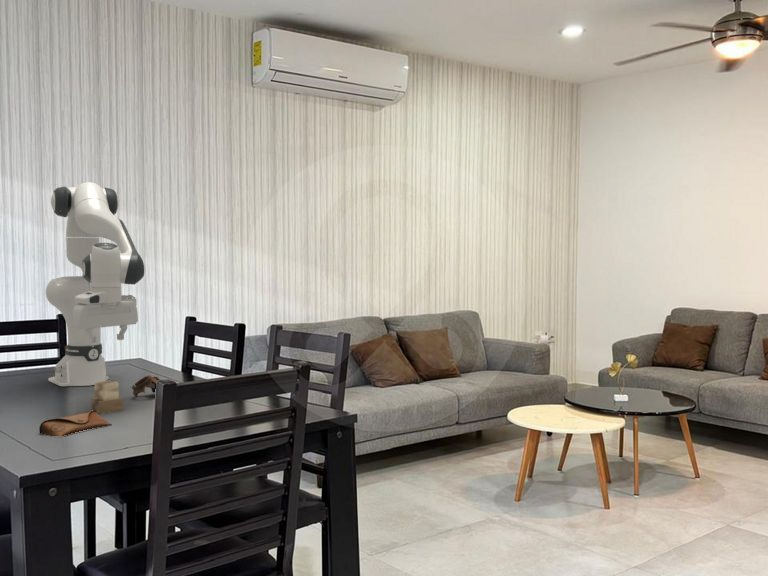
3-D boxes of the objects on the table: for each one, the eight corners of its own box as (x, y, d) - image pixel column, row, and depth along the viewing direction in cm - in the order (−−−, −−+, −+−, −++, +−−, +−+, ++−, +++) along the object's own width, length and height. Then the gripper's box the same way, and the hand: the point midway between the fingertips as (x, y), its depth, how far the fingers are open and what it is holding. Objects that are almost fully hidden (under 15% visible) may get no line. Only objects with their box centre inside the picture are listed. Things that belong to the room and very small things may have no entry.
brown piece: (162, 401, 250) (148, 381, 247) (138, 413, 251) (124, 393, 249) (172, 385, 261) (160, 366, 259) (149, 396, 263) (136, 377, 260)
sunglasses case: (58, 438, 201) (50, 414, 202) (44, 448, 204) (36, 425, 205) (114, 424, 216) (106, 403, 218) (100, 434, 219) (92, 412, 221)
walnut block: (91, 411, 234) (91, 398, 234) (113, 407, 239) (113, 395, 239) (100, 415, 229) (100, 401, 229) (123, 411, 234) (122, 398, 233)
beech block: (94, 398, 233) (94, 382, 233) (109, 396, 237) (108, 380, 237) (104, 400, 230) (104, 384, 230) (118, 398, 234) (118, 382, 234)
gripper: (130, 293, 243) (130, 337, 244) (69, 297, 227) (70, 343, 228) (141, 295, 239) (142, 338, 240) (81, 298, 223) (81, 345, 224)
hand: (106, 341), depth 233 cm, fingers open, 8 cm apart
